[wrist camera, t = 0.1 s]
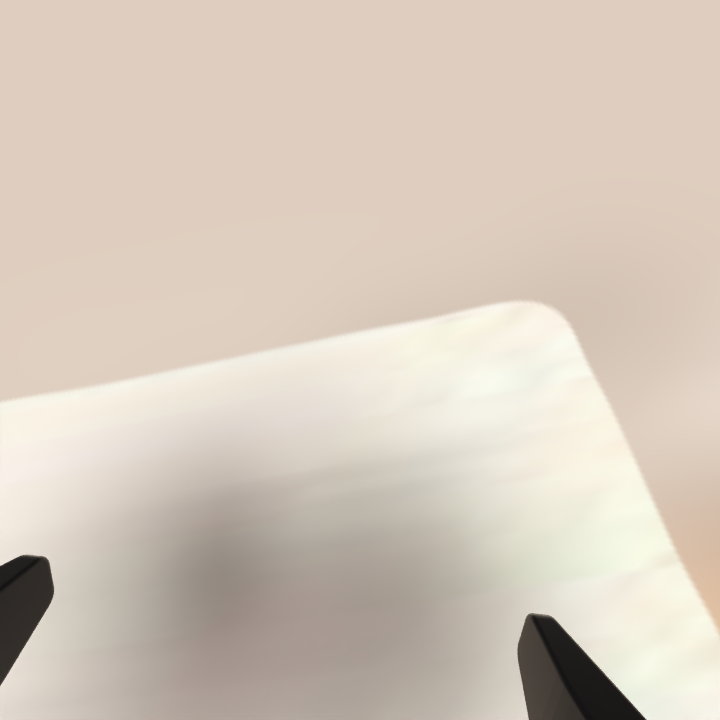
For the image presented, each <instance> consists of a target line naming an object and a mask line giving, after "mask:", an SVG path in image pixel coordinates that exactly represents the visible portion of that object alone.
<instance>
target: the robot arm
mask: <svg viewBox="0 0 720 720" xmlns="http://www.w3.org/2000/svg"><path fill="white" fill-rule="evenodd" d="M53 595H54V585H53V580H52V574H51V569H50V563H49V560H48V559H47V558H46V557H43V556H35V555H22V556H19V557H17V558H15V559H13V560H11V561H9V562H7V563H5V564H3V565H1V566H0V686H1V684H2V682H3V681H4V679H5V678H6V676H7V674H8V673H9V671H10V669H11V668H12V666H13V664H14V663H15V661H16V660H17V658H18V656H19V655H20V653H21V651H22V650H23V648H24V646H25V645H26V643H27V641H28V640H29V638H30V636H31V635H32V633H33V631H34V630H35V628H36V626H37V625H38V623H39V622H40V620H41V618H42V617H43V615H44V613H45V612H46V610H47V608H48V607H49V605H50V603H51V601H52V598H53ZM518 662H519V667H520V673H521V678H522V684H523V690H524V695H525V701H526V706H527V712H528V717H529V720H646V719H645V718H644V716H643V715H642V714H641V713H640V712H639V711H638V710H637V709H636V708H635V707H634V705H633V704H632V703H631V702H630V701H629V700H628V699H627V698H626V697H625V696H624V694H623V693H622V692H621V691H620V690H619V689H618V688H617V687H616V686H615V685H614V683H613V682H612V681H611V680H610V679H609V678H608V677H607V676H606V675H605V674H604V673H603V671H602V670H601V669H600V668H599V667H598V666H597V665H596V664H595V663H594V662H593V660H592V659H591V658H590V657H589V656H588V655H587V654H586V653H585V652H584V651H583V649H582V648H581V647H580V646H579V645H578V644H577V643H576V642H575V641H574V640H573V638H572V637H571V636H570V635H569V634H568V633H567V632H566V631H565V630H564V629H563V628H562V626H561V625H560V624H559V623H558V622H557V621H556V620H555V619H554V618H553V617H551V616H549V615H543V614H534V613H531V614H528V615H527V617H526V619H525V623H524V626H523V629H522V633H521V636H520V640H519V643H518Z"/></svg>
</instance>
